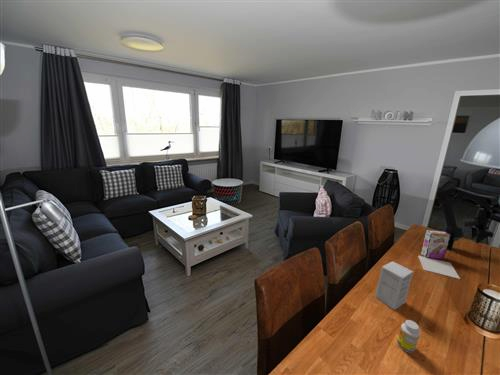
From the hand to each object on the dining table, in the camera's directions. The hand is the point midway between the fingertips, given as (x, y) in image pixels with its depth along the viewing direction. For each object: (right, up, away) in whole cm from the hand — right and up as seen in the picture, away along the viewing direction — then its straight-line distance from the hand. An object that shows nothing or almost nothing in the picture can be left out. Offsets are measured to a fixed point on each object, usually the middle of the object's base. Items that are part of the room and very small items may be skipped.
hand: (474, 240), depth 138 cm
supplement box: (-72, -20, -32) cm, 81 cm away
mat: (-27, -14, -5) cm, 31 cm away
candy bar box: (-22, -11, +4) cm, 25 cm away
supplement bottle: (-79, -26, -54) cm, 100 cm away
